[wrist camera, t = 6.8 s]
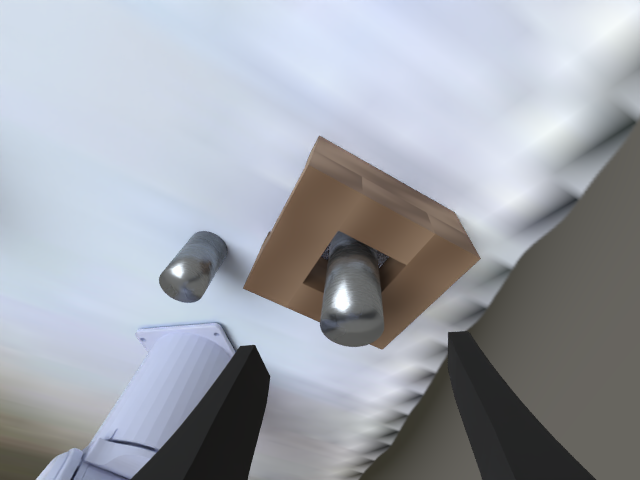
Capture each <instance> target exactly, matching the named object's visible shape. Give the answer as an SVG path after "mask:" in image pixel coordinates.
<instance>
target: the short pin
mask: <svg viewBox="0 0 640 480" xmlns="http://www.w3.org/2000/svg"><path fill="white" fill-rule="evenodd" d="M226 255H227V247H226V244H225V243H224V241H223V240H222V239H221V238H220V237H219V236H217V235H216V234H214V233H211V232H207V231H201V232H197V233H195V234H194V235H193V236H192V237H191V238H190V239H189V241H188V242H187V243H186V244H185V246H184V247H183V248H182V249H181V250H180V252H179V253H178V254H177V255H176V257H175V258H174V259H173V260H172V261H171V263H170V264H169V265H168V266H167V267H166V269H165V270H164V271H163V272H162V274H161V275H160V277H159V283H160V286H161V288H162V289H163V291H164V292H165V293H166V294H167V295H169V296H170V297H171V298H173V299H175V300H178V301H181V302H186V303H191V302H196V301H198V300H199V299H201V297H202V296H203V294H204V292H205V291H206V289H207V287H208V286H209V284H210V282H211V281H212V279H213V277H214V276H215V274H216V272H217V271H218V269H219V267H220V265H221V264H222V262H223V260H224V259H225V257H226Z"/></svg>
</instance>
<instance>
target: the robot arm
mask: <svg viewBox="0 0 640 480" xmlns="http://www.w3.org/2000/svg"><path fill="white" fill-rule="evenodd" d="M135 336H136V337H137V339H138V340H139V341H140V342H141V344H142V345H143V346H144V348H145V349H146V350H147V351H148V355H147V356H146V358H145V359H144V361H143V363H142V364H141V366H140V367H139V369H138V370H137V372H136V373H135V375H134V376H133V378H132V379H131V381H130V382H129V384H128V385H127V387H126V389H125V390H124V392H123V393H122V395H121V396H120V398H119V399H118V401H117V402H116V404H115V405H114V407H113V408H112V410H111V411H110V413H109V415H108V416H107V418H106V419H105V421H104V422H103V424H102V425H101V427H100V428H99V430H98V431H97V433H96V434H95V436H94V437H93V439H92V441H91V442H90V444H89V445H88V446H87V447H86V448H85V449H83V450H82V451H81V450H79V449H77V448H72V449H70V450H69V451H68V452H65V453H63V454H60V455H58V456H56V457H55V458H54V459H53V460H52V461H51V462H50V463H49V464H48V466H47V467H46V468H45V469H44V470H43V472H42V473H41V474H40V475H39V476H38V478H37V479H36V480H248V475H249V471H250V466H251V462H252V459H253V455H254V451H255V447H256V443H257V439H258V436H259V432H260V428H261V424H262V420H263V416H264V412H265V408H266V404H267V397H268V390H269V382H270V375H269V373H268V371H267V369H266V367H265V365H264V363H263V361H262V359H261V357H260V354H259V352H258V350H257V348H256V346H255V345H248V346H240V347H239V349H238V350H237V351H236V352H235V350H234V349H233V347H232V345H231V343H230V341H229V340H228V338H227V336H226V334H225V332H224V330H223V329H222V327H221V326H220V325H219V324H217V323H209V324H196V325H183V326H171V327H158V328H146V329H138V330H137V331H136V333H135ZM448 371H449V375H450V380H451V384H452V388H453V392H454V397H455V400H456V403H457V406H458V409H459V412H460V415H461V418H462V421H463V424H464V427H465V430H466V432H467V435H468V438H469V441H470V444H471V447H472V450H473V453H474V455H475V459H476V462H477V464H478V467H479V470H480V473H481V477H482V480H596V479H595V478H594V477H593V476H592V475H591V474H590V473H589V472H588V471H587V470H586V469H585V468H583V466H582V465H581V464H580V463H579V462H578V461H576V459H575V458H574V457H572V455H570V453H568V451H567V450H566V449H565V448H564V447H563V446H562V445H561V444H560V443H559V442H558V441H557V440H556V439H555V438H554V437H553V436H552V435H551V434H550V433H549V432H548V431H547V429H546V428H545V427H544V426H543V425H542V424H541V423H540V422H539V421H538V420H537V419H536V418H535V416H534V415H533V414H532V413H531V412H530V411H529V410H528V408H527V407H526V406H525V405H524V404H523V403H522V402H521V400H520V399H519V398H518V397H517V396H516V394H515V393H514V392H513V391H512V390H511V389H510V387H509V386H508V385H507V383H506V382H505V381H504V380H503V379H502V377H501V376H500V375H499V373H498V372H497V371H496V370H495V368H494V367H493V366H492V364H491V363H490V362H489V360H488V359H487V358H486V356H485V355H484V353H483V352H482V350H481V349H480V348H479V346H478V345H477V343H476V342H475V340H474V339H473V337H472V336H471V334H470V333H469V332H467V331H461V332H448Z"/></svg>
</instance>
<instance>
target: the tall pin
mask: <svg viewBox="0 0 640 480" xmlns="http://www.w3.org/2000/svg"><path fill="white" fill-rule="evenodd" d="M320 327H321V330H322V332H323V333H324V335H325V336H326V337H327V338H328V339H330V340H331V341H333V342H335V343H337V344H340V345H343V346H350V347H359V346H364V345H368V344H370V343H372V342H374V341H376V340H377V339H378V338H379V337H380V336H381V335H382V333H383V331H384V316H383V306H382V296H381V285H380V275H379V265H378V254H377V250H376V249H374V248H372V247H370V246H368V245H366V244H364V243H362V242H360V241H358V240H356V239H354V238H352V237H350V236H348V235H346V234H344V233H342V232H340V231H338V232H337V233H336V235H335V236H334V237H333V239H332V240H331V242H330V248H329V256H328V264H327V272H326V280H325V288H324V295H323V303H322V311H321V319H320Z"/></svg>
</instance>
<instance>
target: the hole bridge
mask: <svg viewBox="0 0 640 480" xmlns="http://www.w3.org/2000/svg"><path fill="white" fill-rule="evenodd" d="M338 231H340V232H342V233H344V234H346V235H348V236H350V237H352V238H354V239H356V240H358V241H360V242H362V243H364V244H366V245H368V246H370V247H372V248H374V249H376V250H378V251H380V252H382V253H384V254H385V255H387V256H389V258H388V259H387V260H386V261H385V262H384V264H383V265H382V266H381V267H380V268H379V275H380V285H381V296H382V306H383V316H384V331H383V333H382V335H381V336H380V337H379V338H378V339H377V340H376V341H374V342H372V343H370V345H373V346H375V347H377V348H380V349H384V348H385V347H386V346H387V345H388V344H389V343H390V342H391V341H392V340H393V339H394V338H395V337H397V336H398V335H399V334H400V333H401V332H402V331H403V330H404V329H405V328H406V327H407V326H408V325H409V324H411V323H412V322H413V321H414V320H415V319H416V318H417V317H418V316H419V315H420V314H421V313H422V312H424V311H425V310H426V309H427V308H428V307H429V306H430V305H431V304H432V303H433V302H434V301H435V300H436V299H438V298H439V297H440V296H441V295H442V294H443V293H444V292H445V291H446V290H447V289H448V288H449V287H451V286H452V285H453V284H454V283H455V282H456V281H457V280H458V279H459V278H460V277H461V276H462V275H463V274H465V273H466V272H467V271H468V270H469V269H470V268H471V267H472V266H473V265H474V264H475V263H476V262H478V261H479V260H480V259H481V258H480V256H479V255H478V253H477V251H476V249H475V247H474V246H473V244H472V242H471V240H470V239H469V237H468V235H467V233H466V231H465V230H464V228H463V226H462V224H461V223H460V221H459V219H458V217H457V216H456V214H455V212H453V211H451V210H449V209H448V208H446V207H444V206H442V205H441V204H439V203H437V202H435V201H434V200H432V199H430V198H428V197H427V196H425V195H423V194H421V193H419V192H418V191H416V190H414V189H412V188H411V187H409V186H407V185H405V184H404V183H402V182H400V181H398V180H397V179H395V178H393V177H391V176H390V175H388V174H386V173H384V172H383V171H381V170H379V169H377V168H375V167H374V166H372V165H370V164H368V163H367V162H365V161H363V160H361V159H360V158H358V157H356V156H354V155H353V154H351V153H349V152H347V151H346V150H344V149H342V148H340V147H338V146H337V145H335V144H333V143H331V142H330V141H328V140H326V139H324V138H323V137H321V136H319V137H318V139H317V141H316V143H315V145H314V147H313V149H312V151H311V153H310V155H309V158H308V160H307V163H306V165H305V168H304V170H303V172H302V174H301V176H300V178H299V179H298V181H297V183H296V185H295V187H294V189H293V191H292V193H291V195H290V197H289V199H288V200H287V202H286V204H285V206H284V208H283V210H282V212H281V214H280V216H279V218H278V219H277V221H276V223H275V225H274V227H273V229H272V231H271V232H269V233H268V235H267V237H266V239H265V241H264V243H263V245H262V247H261V249H260V252H259V254H258V256H257V258H256V261H255V263H254V265H253V267H252V270H251V272H250V274H249V276H248V278H247V281H246V283H245V285H244V287H243V289H246V290H248V291H250V292H252V293H255V294H257V295H259V296H261V297H264V298H266V299H268V300H271V301H273V302H275V303H277V304H280V305H282V306H284V307H286V308H289V309H291V310H293V311H295V312H298V313H300V314H302V315H305V316H307V317H309V318H311V319H314V320H316V321H318V322H320V319H321V311H322V303H323V295H324V288H325V280H326V272H327V264H328V260H326V259H324V258H322V257H321V255H322V254H323V252H324V251H325V249H326V248H327V246H328V245H329V243H330V242H331V240H332V239H333V237H334V236H335V235H336V233H337V232H338Z"/></svg>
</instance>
